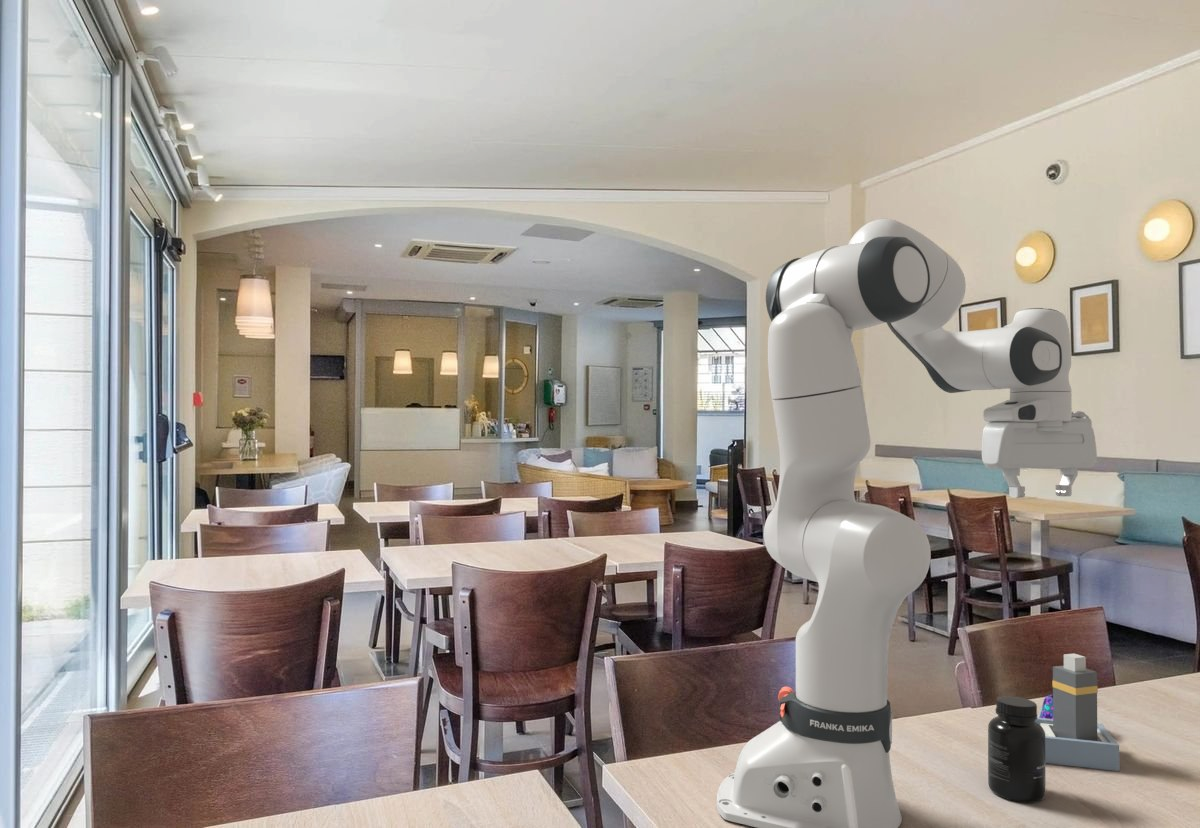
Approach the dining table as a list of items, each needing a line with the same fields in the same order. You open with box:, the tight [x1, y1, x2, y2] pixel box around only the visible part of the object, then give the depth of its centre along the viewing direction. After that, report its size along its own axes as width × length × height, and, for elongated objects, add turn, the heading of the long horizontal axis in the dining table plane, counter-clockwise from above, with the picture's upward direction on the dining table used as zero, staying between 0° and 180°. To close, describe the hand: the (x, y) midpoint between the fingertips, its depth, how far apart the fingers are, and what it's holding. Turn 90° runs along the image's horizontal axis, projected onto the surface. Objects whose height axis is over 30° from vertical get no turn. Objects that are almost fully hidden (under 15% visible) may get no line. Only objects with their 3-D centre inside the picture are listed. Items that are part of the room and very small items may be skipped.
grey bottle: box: [1051, 652, 1099, 741], centre depth 123 cm, size 4×4×14 cm
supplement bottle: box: [987, 695, 1046, 803], centre depth 111 cm, size 7×7×12 cm
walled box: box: [1035, 718, 1120, 772], centre depth 124 cm, size 14×9×4 cm, turn 73°
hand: (1040, 496), depth 135 cm, fingers open, 8 cm apart
